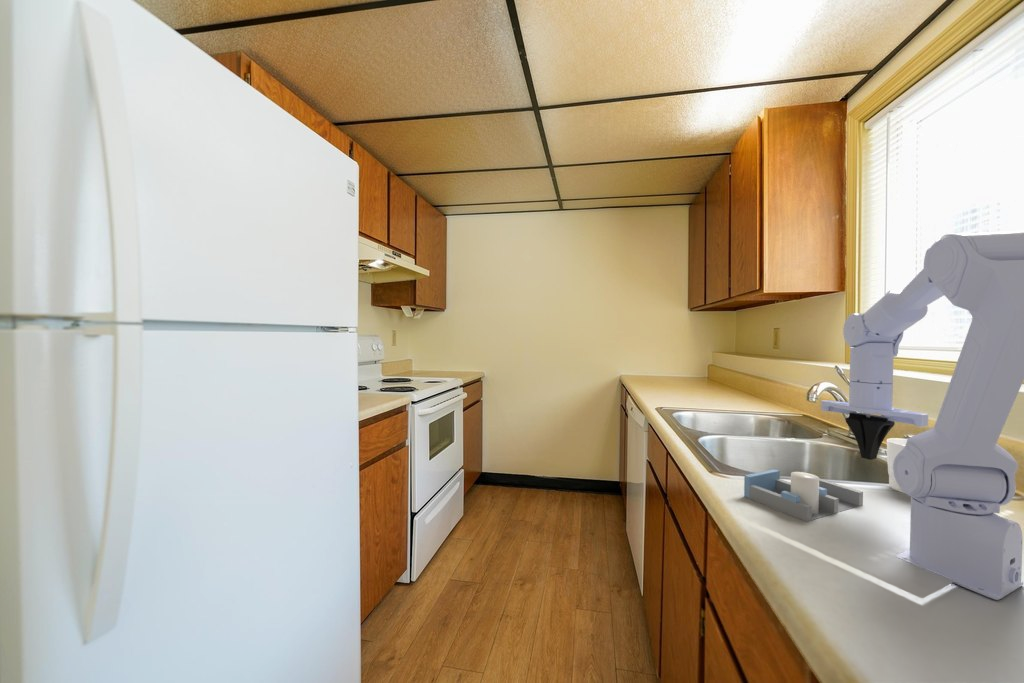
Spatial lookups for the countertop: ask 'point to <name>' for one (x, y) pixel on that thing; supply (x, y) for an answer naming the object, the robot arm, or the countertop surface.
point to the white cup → (892, 450)
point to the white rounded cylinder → (806, 489)
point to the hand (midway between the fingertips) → (868, 458)
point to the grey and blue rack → (779, 496)
